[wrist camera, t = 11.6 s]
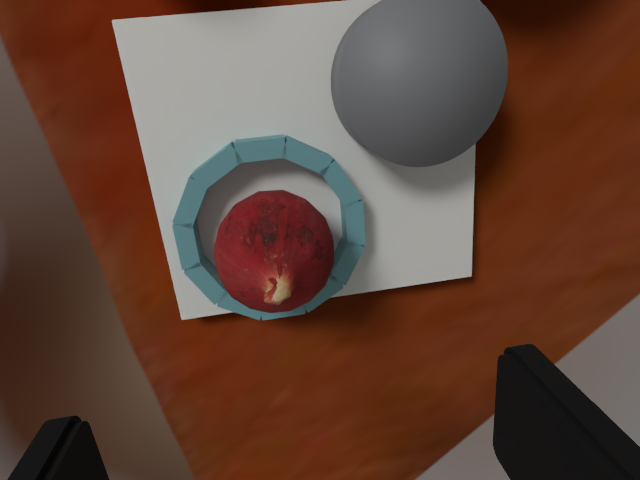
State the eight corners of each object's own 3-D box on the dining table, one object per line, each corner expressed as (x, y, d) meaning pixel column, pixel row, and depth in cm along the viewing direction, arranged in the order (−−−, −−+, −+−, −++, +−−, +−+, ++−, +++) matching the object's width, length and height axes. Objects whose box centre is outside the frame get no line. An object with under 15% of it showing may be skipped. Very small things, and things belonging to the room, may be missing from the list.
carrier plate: (466, -5, 23) (513, -25, 19) (461, 267, 29) (496, 298, 25) (120, 24, 22) (88, 9, 17) (185, 307, 27) (172, 348, 23)
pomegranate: (213, 180, 23) (193, 229, 16) (320, 171, 24) (349, 215, 16) (227, 278, 25) (215, 362, 18) (325, 268, 26) (352, 345, 19)
